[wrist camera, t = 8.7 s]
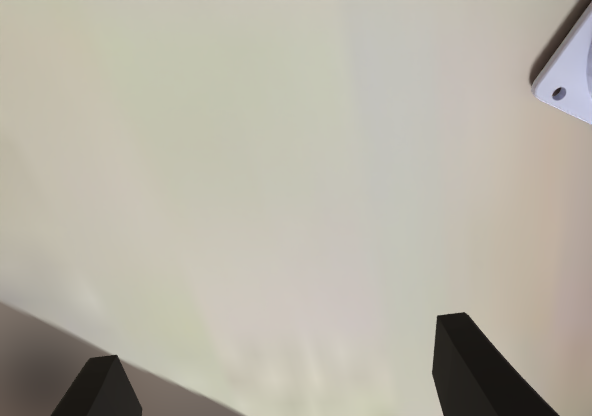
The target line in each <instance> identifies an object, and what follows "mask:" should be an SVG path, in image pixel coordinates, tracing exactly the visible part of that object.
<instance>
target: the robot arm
mask: <svg viewBox="0 0 592 416" xmlns="http://www.w3.org/2000/svg"><path fill="white" fill-rule="evenodd" d="M560 87H561V90H560V92H559V93H558V94H557V95H556V96H553V97H552V94H553V92H554V91H555V90H556V89H557V88H560ZM531 91H532V94H533V95H534V96H535V97H536V98H538V99H539V100H540V101H542V102H545V103H547V104H549V105H551V106H553V107H555V108H557V109H559V110H562V111H564V112H566V113H568V114H570V115H572V116H574V117H576V118H579V119H581V120H583V121H585V122H587V123H589V124H591V125H592V2H591V3H590V4H589V6H588V7H587V8H586V10H585V11H584V13H583V14H582V15H581V17H580V18H579V20H578V21H577V22H576V24H575V25H574V26H573V28H572V29H571V31H570V32H569V33H568V35H567V36H566V38H565V39H564V40H563V42H562V43H561V44H560V46H559V47H558V49H557V50H556V51H555V53H554V54H553V55H552V57H551V58H550V60H549V61H548V62H547V64H546V65H545V67H544V68H543V69H542V71H541V72H540V73H539V75H538V76H537V78H536V79H535V80H534V82H533V84H532V89H531ZM432 375H433V378H434V382H435V386H436V390H437V393H438V397H439V401H440V404H441V408H442V411H443V415H444V416H560V415H558V414H557V413H556V412H555V411H554V410H553V409H552V408H551V407H550V406H549V405H548V404H547V403H546V402H545V401H544V400H543V399H542V397H541V396H540V395H539V394H538V393H537V392H536V391H535V390H534V389H533V388H532V387H531V386H530V385H529V384H528V383H527V382H526V381H525V380H524V379H523V378H522V377H521V375H520V374H519V373H518V372H517V371H516V370H515V369H514V368H513V367H512V366H511V365H510V363H509V362H508V361H507V360H506V359H505V358H504V357H503V356H502V354H501V353H500V352H499V351H498V350H497V349H496V348H495V346H494V345H493V344H492V343H491V342H490V341H489V340H488V338H487V337H486V336H485V335H484V334H483V332H482V331H481V330H480V329H479V328H478V326H477V325H476V324H475V323H474V321H473V320H472V319H471V318H470V317H469V315H467V314H466V313H465V312H463V313H455V314H447V315H438V316H437V324H436V335H435V347H434V358H433V369H432ZM51 416H142V407H141V405H140V403H139V401H138V399H137V397H136V394H135V392H134V390H133V388H132V386H131V384H130V382H129V380H128V378H127V375H126V373H125V371H124V369H123V367H122V364H121V363H120V360H119V358H118V356H117V355H111V356H104V357H95V358H90V359H89V360H88V361H87V362H86V364H85V366H84V367H83V368H82V370H81V371H80V373H79V374H78V376H77V377H76V379H75V380H74V382H73V383H72V385H71V386H70V388H69V389H68V391H67V392H66V394H65V395H64V397H63V398H62V399H61V401H60V402H59V404H58V405H57V407H56V408H55V410H54V411H53V413H52V414H51Z"/></svg>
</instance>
